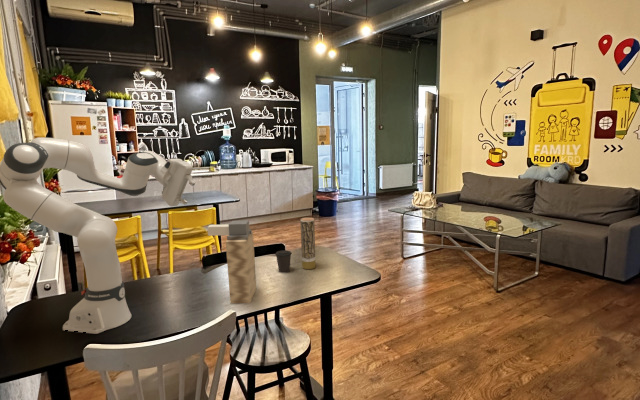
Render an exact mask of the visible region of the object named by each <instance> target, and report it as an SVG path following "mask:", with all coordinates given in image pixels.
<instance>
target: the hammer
mask: <svg viewBox="0 0 640 400" xmlns="http://www.w3.org/2000/svg"><path fill="white" fill-rule="evenodd" d="M206 228H207V236H210V237H211V236H236V235H248V236H249V235H250V230H251V229H250V220H232V221H230V222H229V223H228V224H227V223H226V224H225V223H224V224H209V225H208V226H207V227H206Z"/></svg>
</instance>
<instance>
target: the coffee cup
mask: <svg viewBox="0 0 640 400" xmlns="http://www.w3.org/2000/svg"><path fill="white" fill-rule="evenodd" d="M275 256H276V261H277V263H276V264H277V267H278V272H279V273H281V274H284V273H289V272H290V271H291V270H290V269H291V257H292V252H291V251H290V250H286V249H285V250H278V251H276V252H275Z"/></svg>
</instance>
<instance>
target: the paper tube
mask: <svg viewBox="0 0 640 400" xmlns="http://www.w3.org/2000/svg"><path fill="white" fill-rule="evenodd" d="M315 228H316V227H315V218H314V217H302V218H300V240H301V242H300V243H301V244H300V245H301V248H300V249H301V268H302V269H304V270H313V269H315V268H316V267H317V266H316V263H317V262H316V238H315V237H316V235H315V234H316V233H315V231H316V230H315Z"/></svg>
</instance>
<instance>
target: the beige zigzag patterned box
mask: <svg viewBox="0 0 640 400" xmlns="http://www.w3.org/2000/svg"><path fill="white" fill-rule="evenodd" d="M225 249H226V263H227V275H228V278H227V279H228V290H229V302H230V304H251V302H252V299H253V297H254V296H255V292H256V291H257V280H256V262H255V246H254V232H253V230H252V229H250V235H249V236H248V235H236V236H229V235H226V241H225Z"/></svg>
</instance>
